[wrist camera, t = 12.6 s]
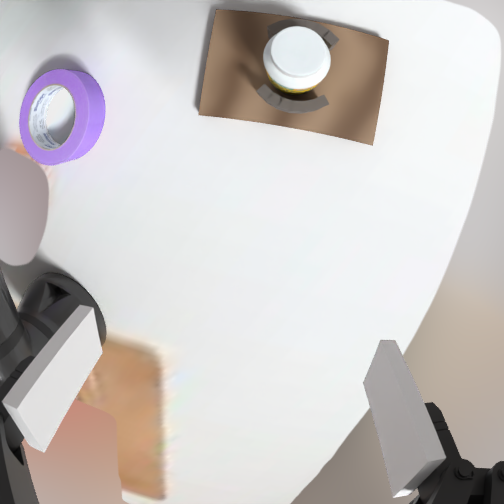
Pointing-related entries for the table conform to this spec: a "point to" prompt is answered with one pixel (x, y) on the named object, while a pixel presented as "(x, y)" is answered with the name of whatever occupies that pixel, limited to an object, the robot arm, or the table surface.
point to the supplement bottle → (296, 60)
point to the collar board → (284, 105)
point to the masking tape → (85, 123)
